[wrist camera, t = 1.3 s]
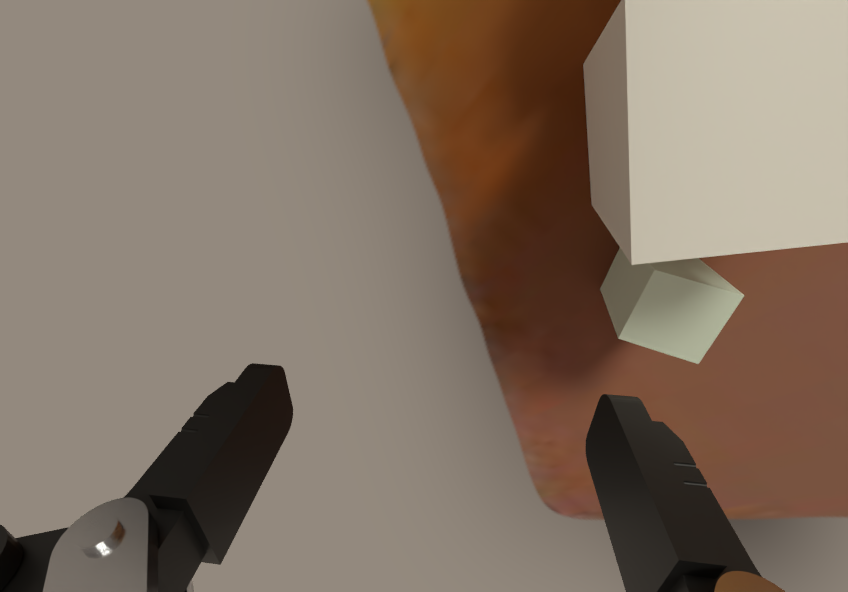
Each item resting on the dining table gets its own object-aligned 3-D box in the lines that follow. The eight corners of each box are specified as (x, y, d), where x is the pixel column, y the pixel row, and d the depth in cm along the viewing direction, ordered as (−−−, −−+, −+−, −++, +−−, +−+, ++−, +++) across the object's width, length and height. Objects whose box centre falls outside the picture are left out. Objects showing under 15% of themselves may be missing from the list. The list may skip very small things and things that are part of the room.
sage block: (625, 234, 27) (654, 269, 20) (691, 252, 27) (744, 295, 20) (600, 288, 29) (617, 338, 22) (660, 306, 29) (698, 364, 22)
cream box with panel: (591, 204, 27) (631, 264, 15) (583, 64, 24) (624, -7, 12) (725, 183, 25) (909, 236, 12) (734, 22, 22) (991, -124, 9)
